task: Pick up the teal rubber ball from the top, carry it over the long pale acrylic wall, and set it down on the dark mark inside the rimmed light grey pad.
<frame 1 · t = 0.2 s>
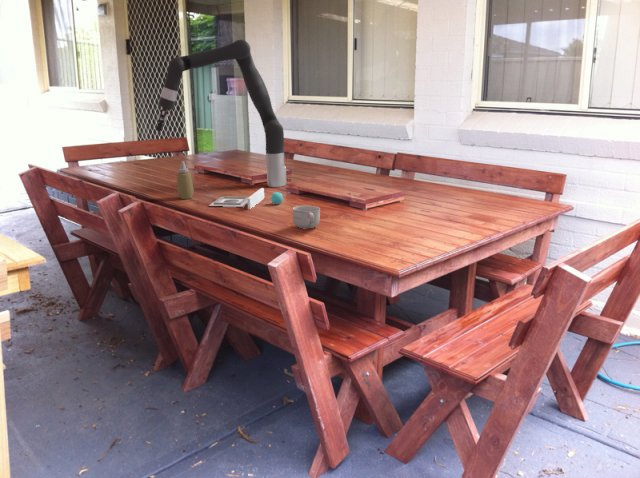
hand: (159, 130, 297), 31 cm above the table, tool tilted 20°, fingers open, 8 cm apart
teal ball: (276, 198, 274), point 3 cm above the table
squeeze bottle: (186, 198, 292), on the table
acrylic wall: (256, 203, 277), on the table
teacup: (307, 229, 235), on the table
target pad: (231, 203, 279), on the table
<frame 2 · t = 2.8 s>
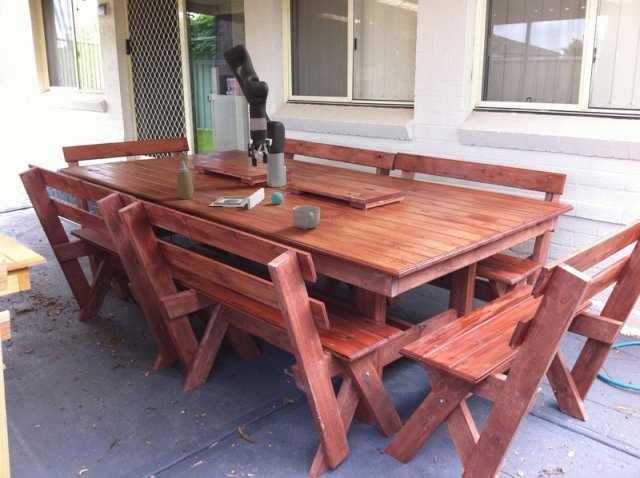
hand: (260, 164, 269), 18 cm above the table, tool pointing down, fingers open, 8 cm apart
nothing on the table moved.
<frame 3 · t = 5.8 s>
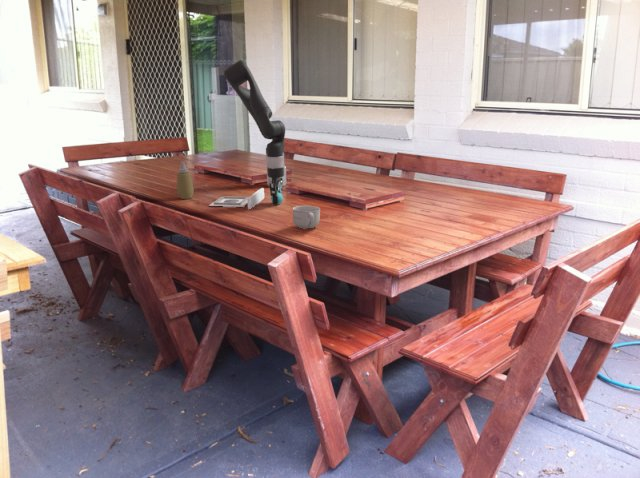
hand: (277, 202, 275), 1 cm above the table, tool pointing down, fingers closed on teal ball, 5 cm apart
teal ball: (276, 198, 274), point 3 cm above the table, touching gripper
everything else where it was.
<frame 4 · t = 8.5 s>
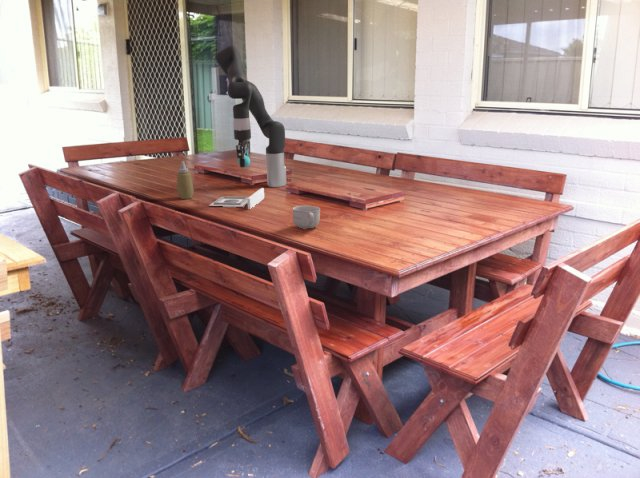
hand: (244, 165, 272), 18 cm above the table, tool pointing down, fingers closed on teal ball, 5 cm apart
teal ball: (244, 161, 272), point 20 cm above the table, touching gripper
everything else where it was.
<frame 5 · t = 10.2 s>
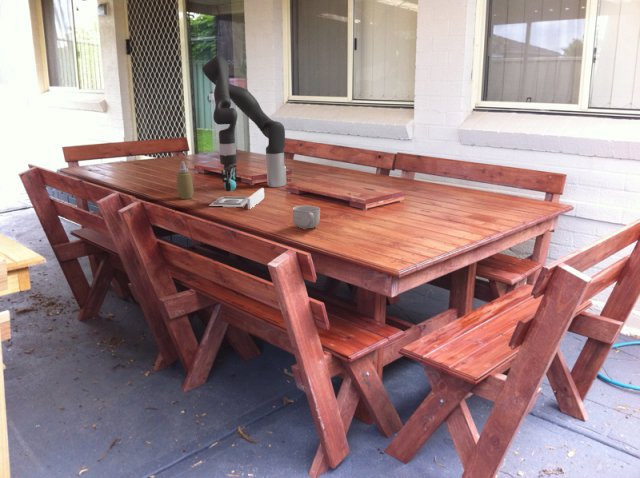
hand: (230, 189, 277), 6 cm above the table, tool pointing down, fingers closed on teal ball, 5 cm apart
teal ball: (230, 185, 277), point 8 cm above the table, touching gripper
everything else where it was.
when the fingers open (3 cm above the table, at t = 11.4 s): teal ball stays where it is, resting on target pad.
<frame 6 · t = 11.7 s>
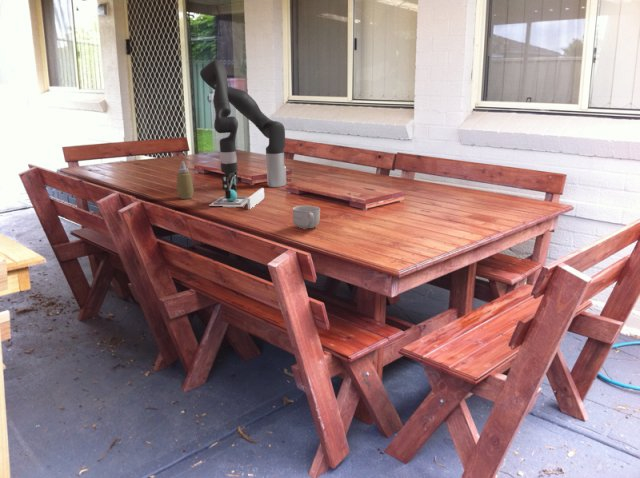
hand: (231, 196, 278), 3 cm above the table, tool pointing down, fingers open, 7 cm apart
teal ball: (231, 195, 278), point 4 cm above the table, touching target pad
everything else where it was.
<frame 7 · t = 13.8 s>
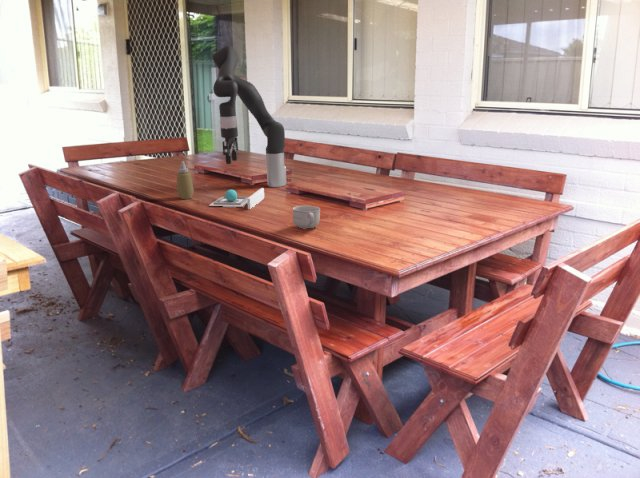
hand: (231, 162, 275), 19 cm above the table, tool pointing down, fingers open, 8 cm apart
nothing on the table moved.
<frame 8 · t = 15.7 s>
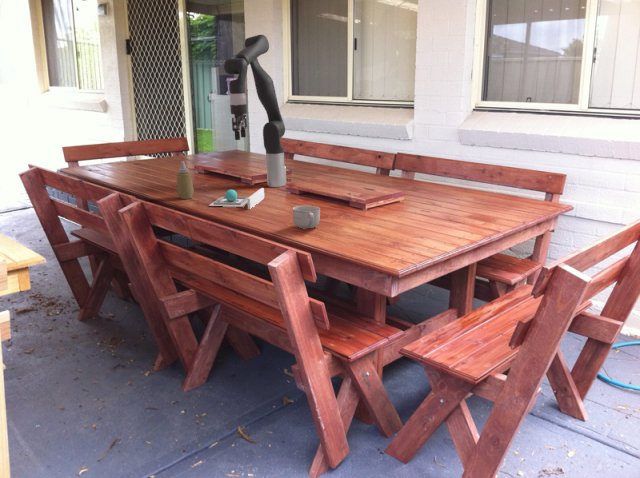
hand: (240, 138, 282), 28 cm above the table, tool pointing down, fingers open, 8 cm apart
nothing on the table moved.
at the end: teal ball inside the target area on the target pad (0.0 cm from its centre), point 3.6 cm above the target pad's base; the gripper is holding nothing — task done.
